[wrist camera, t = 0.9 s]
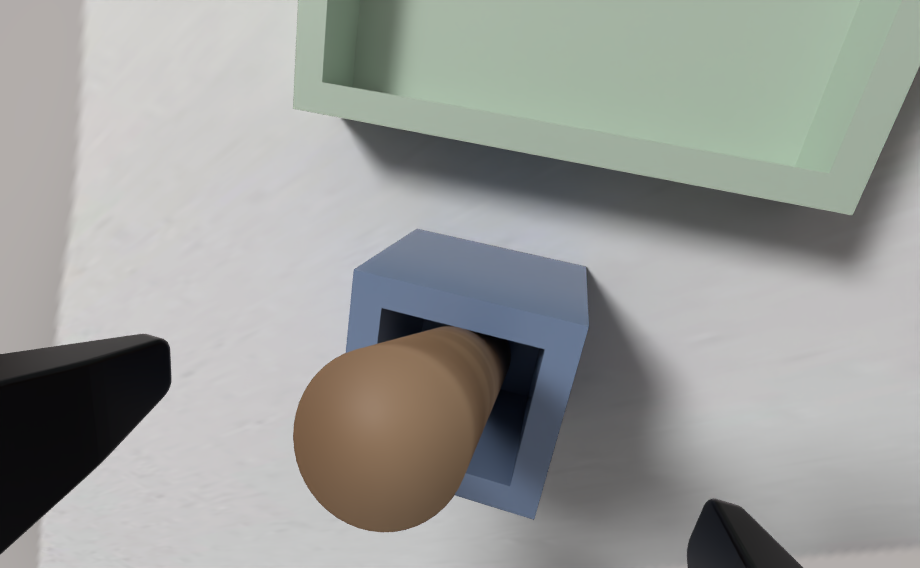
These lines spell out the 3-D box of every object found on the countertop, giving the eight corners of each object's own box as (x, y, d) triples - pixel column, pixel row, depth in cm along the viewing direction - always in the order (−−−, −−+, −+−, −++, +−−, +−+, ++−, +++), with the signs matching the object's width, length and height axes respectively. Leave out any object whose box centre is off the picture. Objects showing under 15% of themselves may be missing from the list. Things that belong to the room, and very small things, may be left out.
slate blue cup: (586, 266, 15) (589, 326, 11) (545, 415, 17) (533, 519, 13) (416, 228, 16) (354, 269, 12) (396, 374, 18) (335, 458, 14)
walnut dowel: (541, 228, 15) (477, 407, 5) (504, 387, 17) (410, 724, 7) (465, 212, 15) (281, 352, 6) (438, 369, 17) (267, 668, 8)
